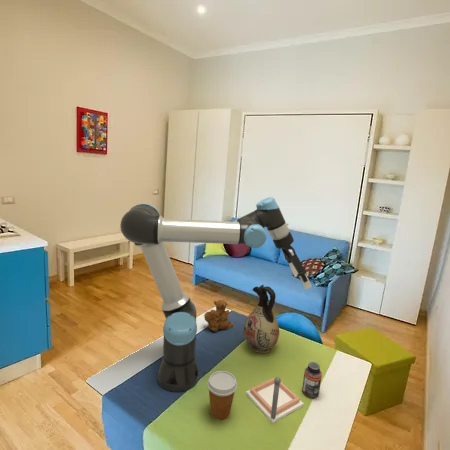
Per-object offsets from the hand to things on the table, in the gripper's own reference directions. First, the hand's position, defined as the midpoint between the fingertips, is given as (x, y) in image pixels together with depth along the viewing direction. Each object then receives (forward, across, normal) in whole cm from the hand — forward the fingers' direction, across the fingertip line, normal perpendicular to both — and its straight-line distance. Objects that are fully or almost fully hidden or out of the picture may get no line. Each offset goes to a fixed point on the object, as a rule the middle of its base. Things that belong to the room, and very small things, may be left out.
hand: (302, 281), depth 123 cm
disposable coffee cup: (+14, -27, +46) cm, 56 cm away
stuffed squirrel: (+13, +23, +44) cm, 51 cm away
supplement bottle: (+31, -19, +17) cm, 40 cm away
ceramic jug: (+23, +7, +28) cm, 37 cm away
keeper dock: (+24, -22, +29) cm, 44 cm away
